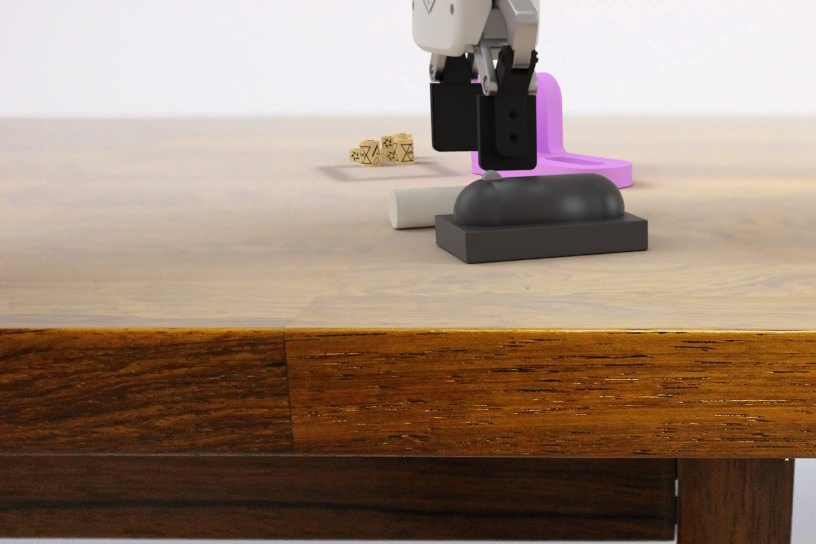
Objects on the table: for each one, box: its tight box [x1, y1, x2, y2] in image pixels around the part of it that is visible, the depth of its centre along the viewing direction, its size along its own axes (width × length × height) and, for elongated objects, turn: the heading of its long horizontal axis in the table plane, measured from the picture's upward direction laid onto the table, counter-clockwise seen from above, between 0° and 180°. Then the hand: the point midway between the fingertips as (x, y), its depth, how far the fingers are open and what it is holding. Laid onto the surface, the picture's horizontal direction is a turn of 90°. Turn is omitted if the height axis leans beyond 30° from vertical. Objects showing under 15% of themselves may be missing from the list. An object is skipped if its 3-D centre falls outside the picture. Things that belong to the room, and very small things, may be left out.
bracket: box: [470, 71, 633, 189], centre depth 105 cm, size 13×6×7 cm, turn 45°
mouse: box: [434, 170, 649, 264], centre depth 79 cm, size 10×6×4 cm, turn 115°
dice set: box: [349, 132, 415, 168], centre depth 114 cm, size 5×5×2 cm
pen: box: [387, 185, 467, 229], centre depth 87 cm, size 12×2×2 cm, turn 115°
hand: (482, 159), depth 86 cm, fingers open, 9 cm apart
